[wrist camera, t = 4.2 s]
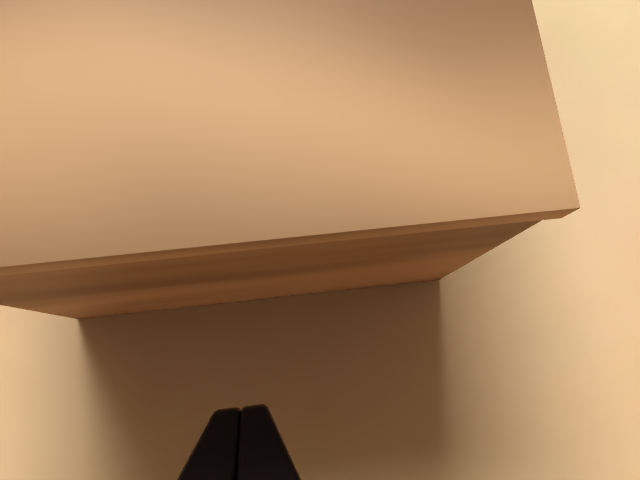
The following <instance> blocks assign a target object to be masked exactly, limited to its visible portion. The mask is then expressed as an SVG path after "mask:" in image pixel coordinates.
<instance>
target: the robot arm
mask: <svg viewBox="0 0 640 480" xmlns="http://www.w3.org/2000/svg"><path fill="white" fill-rule="evenodd" d="M177 480H301V479H300V476H299V474H298V472H297V470H296V468H295V466H294V463H293V461H292V459H291V457H290V455H289V453H288V450H287V448H286V446H285V444H284V442H283V440H282V437H281V435H280V433H279V431H278V429H277V427H276V424H275V422H274V420H273V418H272V416H271V414H270V411H269V409H268V407H267V406H266V405H264V404H260V405H252V406H245V407H243V408H242V410H240V408H236V407H235V408H227V409H219V410H217V411H215V412H214V414H213V415H212V417H211V419H210V420H209V422H208V424H207V426H206V428H205V430H204V431H203V433H202V435H201V437H200V439H199V441H198V442H197V444H196V446H195V448H194V450H193V452H192V453H191V455H190V457H189V459H188V461H187V462H186V464H185V466H184V468H183V470H182V472H181V473H180V475H179V477H178V479H177Z"/></svg>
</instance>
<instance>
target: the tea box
mask: <svg viewBox="0 0 640 480" xmlns="http://www.w3.org/2000/svg"><path fill="white" fill-rule="evenodd" d="M579 208H580V204H579V200H578V196H577V192H576V187H575V183H574V179H573V175H572V170H571V166H570V162H569V158H568V153H567V149H566V145H565V141H564V136H563V132H562V128H561V123H560V119H559V115H558V111H557V106H556V102H555V98H554V94H553V89H552V85H551V81H550V77H549V72H548V68H547V64H546V60H545V55H544V51H543V47H542V43H541V38H540V34H539V30H538V26H537V21H536V17H535V13H534V9H533V4H532V0H0V305H4V306H10V307H15V308H21V309H26V310H32V311H37V312H43V313H48V314H54V315H59V316H65V317H70V318H76V319H81V318H90V317H99V316H108V315H117V314H126V313H136V312H145V311H154V310H163V309H172V308H182V307H191V306H200V305H209V304H218V303H227V302H237V301H246V300H255V299H264V298H273V297H282V296H292V295H301V294H310V293H319V292H328V291H338V290H347V289H356V288H365V287H374V286H383V285H393V284H402V283H411V282H420V281H429V280H438V279H441V278H443V277H444V276H446V275H448V274H450V273H451V272H453V271H455V270H456V269H458V268H460V267H462V266H463V265H465V264H467V263H469V262H470V261H472V260H474V259H476V258H477V257H479V256H481V255H482V254H484V253H486V252H488V251H489V250H491V249H493V248H495V247H496V246H498V245H500V244H501V243H503V242H505V241H507V240H508V239H510V238H512V237H514V236H515V235H517V234H519V233H521V232H522V231H524V230H526V229H527V228H529V227H531V226H533V225H534V224H536V223H538V222H540V221H541V220H546V219H556V218H562V217H564V216H566V215H568V214H570V213H572V212H573V211H575V210H577V209H579Z"/></svg>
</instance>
